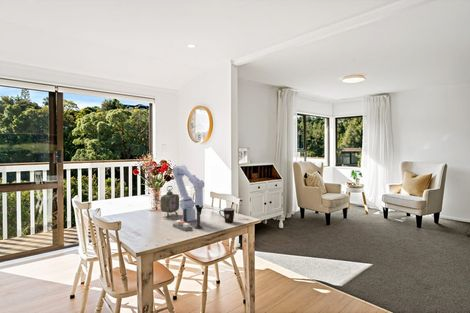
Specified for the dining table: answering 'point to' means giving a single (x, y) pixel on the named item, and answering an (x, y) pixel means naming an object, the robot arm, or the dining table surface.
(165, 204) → the tabletop clock
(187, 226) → the breaker panel
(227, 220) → the coffee mug
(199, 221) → the cord post right
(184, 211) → the cord post left
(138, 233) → the dining table surface
